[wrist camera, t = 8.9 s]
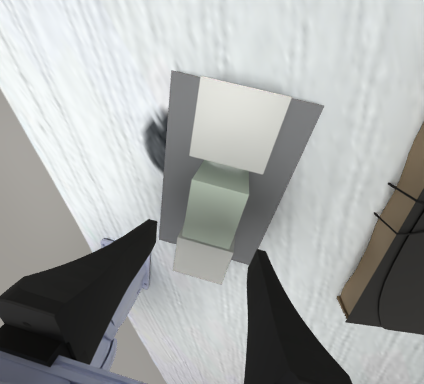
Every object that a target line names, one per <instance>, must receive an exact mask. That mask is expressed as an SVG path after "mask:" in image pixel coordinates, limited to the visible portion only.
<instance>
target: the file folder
mask: <svg viewBox="0 0 424 384" xmlns="http://www.w3.org/2000/svg"><path fill="white" fill-rule="evenodd" d="M388 185H390V186H391V187H393V188H395V191H394V193H393V195H392V196H391V198H390V200H389V202H388V204H387V205H386V207H385V209H384V210H383V212H382V214H381V215H380V217H379V216H378V215H377V214H376V213H375V212H374V214H375V215H376V216H377V217H378V218H379V219H378V221H377V223H376V225H375V228H374V231H373V234H372V237H371V240H370V242H369V245H368V247H367V249H366V251H365V253H364V255H363V257H362V259H361V261H360V263H359V265H358V267H357V269H356V270H355V272H354V273H353V275H352V276H351V278H350V279H349V280H348V281H347V283H346V284H345V286H344V288H343V290H342V293H341V296H337V300H338V302H339V304H340V305H341V309H342V310H343V312H344V313H345V316H346V319H347V320H346V322H347V323H354V324H362V325H370V326H377V327H383V328H384V329H388V330H394V331H401V332H408V333H415V334H422V335H424V123H423V125H422V127H421V129H420V131H419V132H418V134H417V136H416V138H415V140H414V142H413V145H412V147H411V150H410V152H409V154H408V158H407V161H406V164H405V167H404V170H403V172H402V175H401V178H400V181H399V183H398V185H397V187H396V186H394V185H392V184H391V183H388Z"/></svg>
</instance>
